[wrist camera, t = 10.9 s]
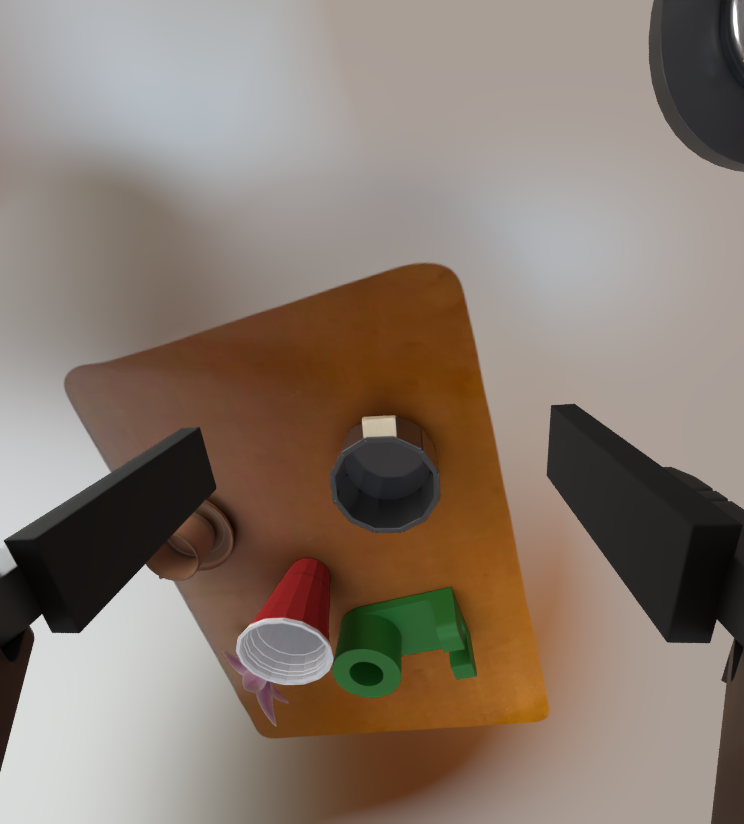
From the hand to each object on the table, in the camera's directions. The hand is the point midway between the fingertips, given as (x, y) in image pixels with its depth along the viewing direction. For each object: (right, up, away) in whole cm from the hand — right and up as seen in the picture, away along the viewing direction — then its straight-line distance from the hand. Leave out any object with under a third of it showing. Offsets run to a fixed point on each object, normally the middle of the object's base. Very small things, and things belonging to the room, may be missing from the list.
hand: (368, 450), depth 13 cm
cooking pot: (+2, -4, +28) cm, 29 cm away
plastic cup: (-8, -21, +37) cm, 44 cm away
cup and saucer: (-24, -14, +36) cm, 46 cm away
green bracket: (+4, -29, +39) cm, 49 cm away
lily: (-16, -35, +43) cm, 57 cm away
